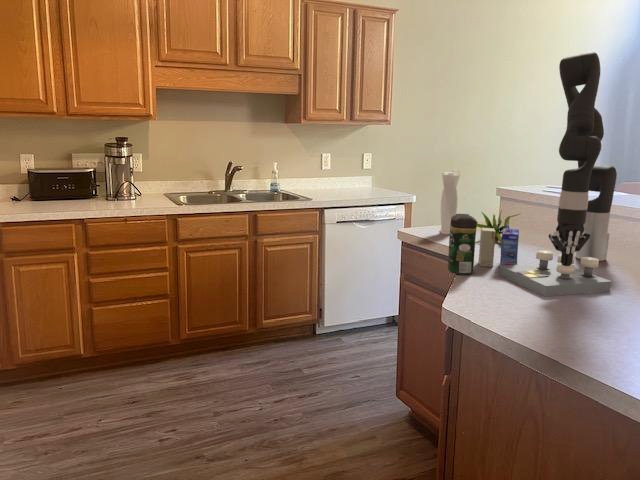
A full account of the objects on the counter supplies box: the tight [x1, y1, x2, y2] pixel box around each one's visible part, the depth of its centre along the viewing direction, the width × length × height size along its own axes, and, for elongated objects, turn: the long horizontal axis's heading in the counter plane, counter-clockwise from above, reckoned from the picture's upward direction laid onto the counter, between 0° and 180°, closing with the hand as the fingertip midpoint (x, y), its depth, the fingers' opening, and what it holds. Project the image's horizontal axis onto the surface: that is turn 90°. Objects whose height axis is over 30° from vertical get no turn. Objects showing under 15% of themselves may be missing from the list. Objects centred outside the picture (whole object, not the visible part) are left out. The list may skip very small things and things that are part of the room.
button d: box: [557, 263, 576, 280], centre depth 163 cm, size 5×5×5 cm
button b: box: [579, 257, 600, 276], centre depth 165 cm, size 5×5×5 cm
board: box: [499, 262, 612, 297], centre depth 168 cm, size 22×22×3 cm
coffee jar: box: [447, 213, 478, 276], centre depth 177 cm, size 10×8×19 cm
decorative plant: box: [475, 209, 520, 245], centre depth 219 cm, size 18×30×15 cm, turn 142°
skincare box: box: [478, 228, 496, 268], centre depth 187 cm, size 6×4×12 cm
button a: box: [556, 253, 576, 265], centre depth 174 cm, size 5×5×5 cm
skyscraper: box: [439, 168, 461, 236], centre depth 237 cm, size 8×8×28 cm
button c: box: [535, 250, 554, 269], centre depth 172 cm, size 5×5×5 cm
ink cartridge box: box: [499, 224, 520, 270], centre depth 185 cm, size 10×6×14 cm, turn 161°
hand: (566, 265), depth 162 cm, fingers closed
